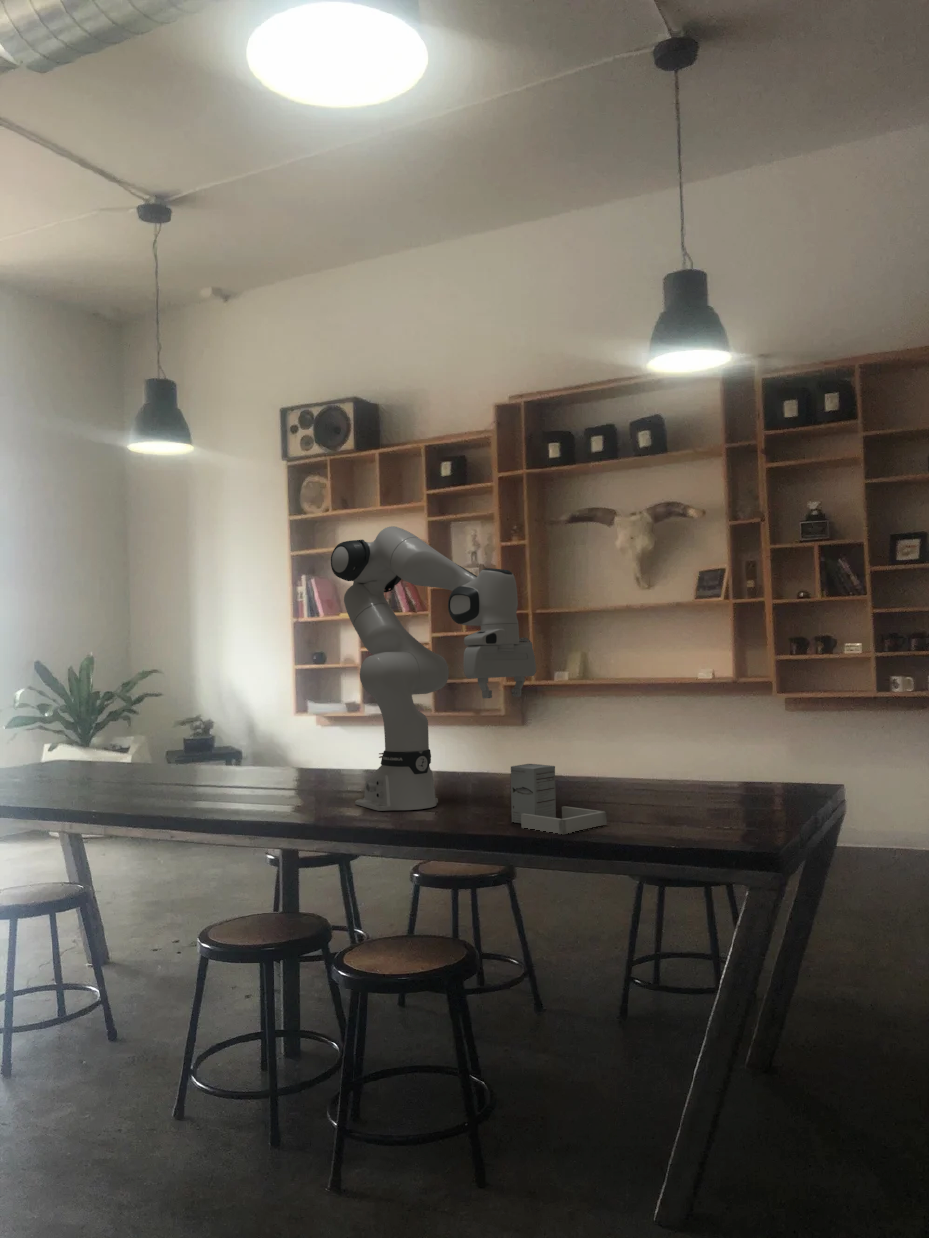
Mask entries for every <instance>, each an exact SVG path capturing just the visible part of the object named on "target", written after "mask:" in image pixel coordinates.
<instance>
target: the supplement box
mask: <svg viewBox="0 0 929 1238" xmlns="http://www.w3.org/2000/svg"><path fill="white" fill-rule="evenodd" d="M510 795H511V796H510V800H511V801H510V802H511V804H510V806H511V813H510V814H511V823H512V822H514V823H516V824H521V814H531V815H538V816H545V817H552V818H557V813H556V810H557V807H556V805H557V804H556V800H557V799H556V798H557V797H556V766H555V765H549V764H548V765H547V764H546V765H545V764H538V763H525V764H518V765H511V766H510Z"/></svg>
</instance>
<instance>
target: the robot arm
mask: <svg viewBox="0 0 929 1238" xmlns="http://www.w3.org/2000/svg"><path fill="white" fill-rule="evenodd" d="M330 566H331V571H332V572H333V574H334V576H336V577H337V578H339V579H341V580H344V581H346V582H352V583H353V584H352V585H351V586H349V587H348V589H347V590H346V591H345V593H344V596H343V603H344V606H345V609H346V612H347V615H348V618H349V620H350V622H351V625H352V626H353V628H354V630H355V631H356V633H357V635H358V637H359V639H360V640H361V642H362V644H363V646H364V647H365V649H366V650H367V651H368V652H369V653H370V654H371V655H370V656H369V655H368V656H367V657H365V659H364V660H363V661H362V664H361V665H360V669H359V680H360V683H361V686H362V687H363V689H364V690H365V692H367V693H368V694H369V695H370V696H372V697H373V699H374V700H375V702H376V704H377V706H378V708H379V710H380V713H381V716H382V720H383V733H384V750H383V752H380V753H378V755H380V756H378V758H379V759H381V761H380V766H379V767H378V768H377V770H375V771H374V772H373V773H372V774H371V776H370V777H368V778H367V779H366V780H365V784H364V795H363V796H364V797H363V798H359V799H357V800H355V802H354V805H357V806H361V807H363V808H367V809H371V810H374V811H379V812H382V811H383V812H384V811H385V812H387V811H413V810H423V809H431V808H433V807H436V806H437V804H438V803H439V798H438V797H436V791H435V784H434V776H433V775H434V774H433V770H432V769H431V767H430V764H431V763H432V754H431V753H432V752H431V749H430V747H429V746H430V744H429V742H430V741H429V719H428V718H427V716H426V715H425V714H424V713H423V712H421V711H419V710H418V709H417V707H416V705H415V703H414V699H413V695H427V694H430V693H434V692H437V691H438V690H441V689H443V688H444V687H445V686H446V685H447V683H448V680H449V676H450V670H449V665H448V663H447V660H446V659H445V658H444V657H443V656H442V655H440V654H439V653H436V652H434V651H433V650H430V649H429V648H427V647H426V646H424V645H423V644H422V643H420V641H418V640H417V639H416V638H415V637H414V636H413V635H412V634H411V633H410V632H409V631H408V630H407V629H406V628H405V627H404V625H403V624H402V623H401V621H400V620H399V618H398V616H397V615H396V613H395V612H394V610H393V608H391V606H390V604H389V603H388V600H387V599H386V596H385V593H390V592H391V591H393V590H394V589H395V586H397V585H398V584H399V583H400V582H401V580H403V581H404V582H407V583H408V584H411V585H413V586H414V585H415V586H417V587H418V586H419V587H426V588H427V587H428V588H429V587H430V588H438V589H443V590H449V591H451V592H450V595H449V597H448V601H447V610H448V613H449V616H450V618H451V620H452V621H453V622H454V623H456V624H458V625H462V626H475V627H476V626H477V627H480V630H478V631H475V632H473V633H471V634H468V635H467V636H464V639H463V643H464V645H465V647H466V648H465V649H464V652H463V673H464V676H465V677H466V679H477V684H478V686H479V688H480V690H481V695H482V696H481V697H482V699H492V698H493V690H492V689H491V690H490V689H489V686H488V684H489V679H491V678H492V679H493V678H513V679H514V681H513V682H515V684H514V687H513V688H511V696H512V697H514V698H517V697H522V689H523V686H524V683H525V682H526V681H525V679H526V678H525V677H533V676H535V674H536V673H537V664H536V656H535V651H534V649H533V646H534V645H533V642H532V641H531V640H530V639H529V638H528V637H525V636H524V637H520V631H519V630H520V629H519V625H520V624H519V620H518V616H517V612H518V606H519V602H518V601H519V599H518V587H517V582H516V577H515V575H514V573H513V572H512V571H511V570H508V569H505V568H503V569H502V568H491V567H489V568H488V567H487V568H484V569H482V570H480V571H479V574H478V575H476V574H474V573H473V572H471V571H470V570H468V569H466V568H464V567H463V566H461V565H460V564H457V563H456V562H454V561H453V560H451V559H450V558H448V557H446V555H444V554H442V553H441V552H439V551H438V550H437V549H435V548H433V546H430V544H428V543H426V542H425V541H424V540H422V539H421V538H420V537H418V536H416V535H415V534H413V533H412V532H410V531H408V530H406V529H404V528H401V527H398V526H393V525H391V526H387V527H385V528H383V529H382V530H380V531H379V532H378V533H377V535H376V537H375V538H374V540H373V541H369V542H368V541H365V540H364V539H355V540H347V541H341V542H339V543H338V544H337V545H336V546H335V547H334V549H333V551H332V552H331V557H330Z"/></svg>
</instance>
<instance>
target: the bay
mask: <svg viewBox="0 0 929 1238" xmlns="http://www.w3.org/2000/svg"><path fill="white" fill-rule="evenodd" d="M607 822H608V821H607V811H604V810H598V809H597V810H595V809H590V808H589V809H588V808H580V807H574V806H566V805H565V806H561V818H558V817H556V818H552V817H545V816H538V815H531V814H521V823H520V825H521V829H524V828H528V829H527V830H530V829H535V830H534V831H536V830H540V831H539V832H543V831H546V832H545V833H549V832H553V833H552V834H555V833H558V834H557V835H561V834H562V835H563V836H564V835H568V833H569V834H573V833H572V832H574V833H576V832H575V831H579V830H583V829H587V828H592V827H596V826H601V825H607ZM607 826H608V825H607ZM583 831H584V830H583ZM579 832H580V831H579Z"/></svg>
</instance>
